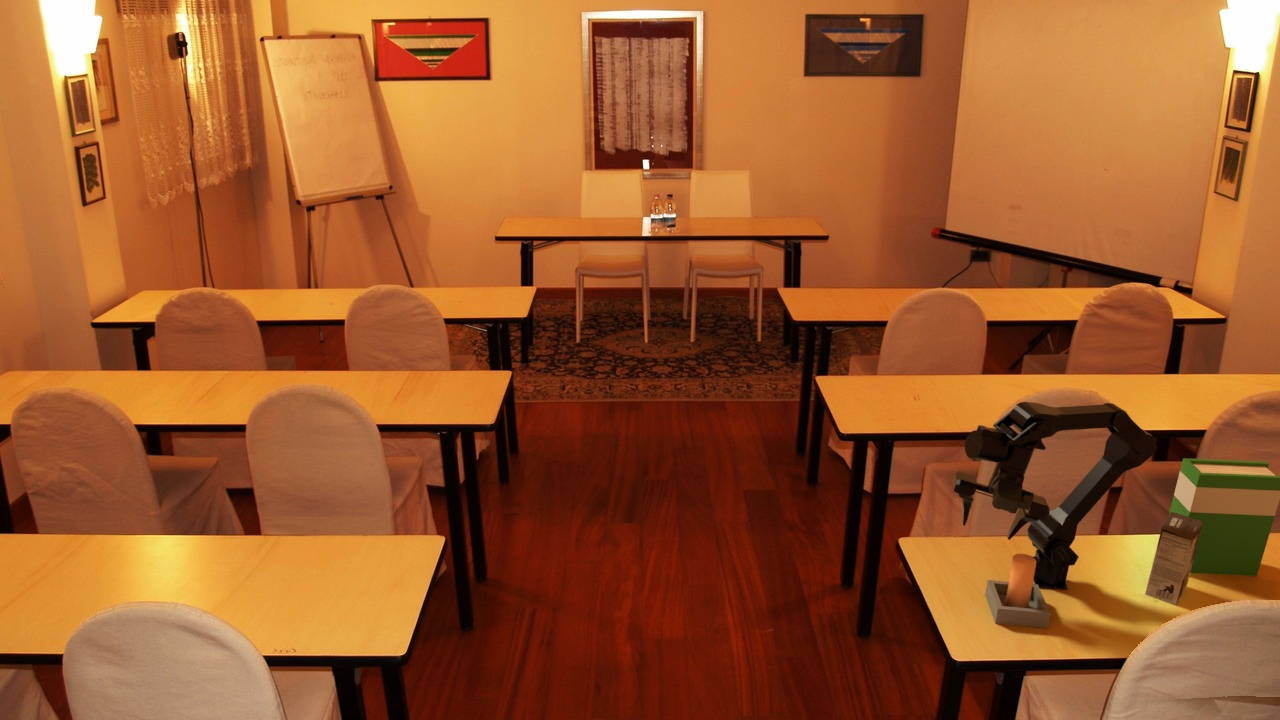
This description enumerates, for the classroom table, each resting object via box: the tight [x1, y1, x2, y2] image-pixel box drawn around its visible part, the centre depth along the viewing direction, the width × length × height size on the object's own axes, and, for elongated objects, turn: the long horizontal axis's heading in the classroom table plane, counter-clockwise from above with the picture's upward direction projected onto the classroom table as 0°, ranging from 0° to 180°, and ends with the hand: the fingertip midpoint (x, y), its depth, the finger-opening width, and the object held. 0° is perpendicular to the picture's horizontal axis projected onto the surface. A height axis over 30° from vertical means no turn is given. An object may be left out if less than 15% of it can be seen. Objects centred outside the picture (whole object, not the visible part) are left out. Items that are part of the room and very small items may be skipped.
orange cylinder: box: [1005, 553, 1036, 608], centre depth 197 cm, size 4×4×11 cm
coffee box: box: [1145, 512, 1203, 606], centre depth 205 cm, size 9×6×16 cm
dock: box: [984, 579, 1051, 629], centre depth 199 cm, size 10×10×4 cm
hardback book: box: [1168, 457, 1280, 577], centre depth 213 cm, size 18×7×24 cm, turn 87°
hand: (985, 531), depth 202 cm, fingers open, 9 cm apart
